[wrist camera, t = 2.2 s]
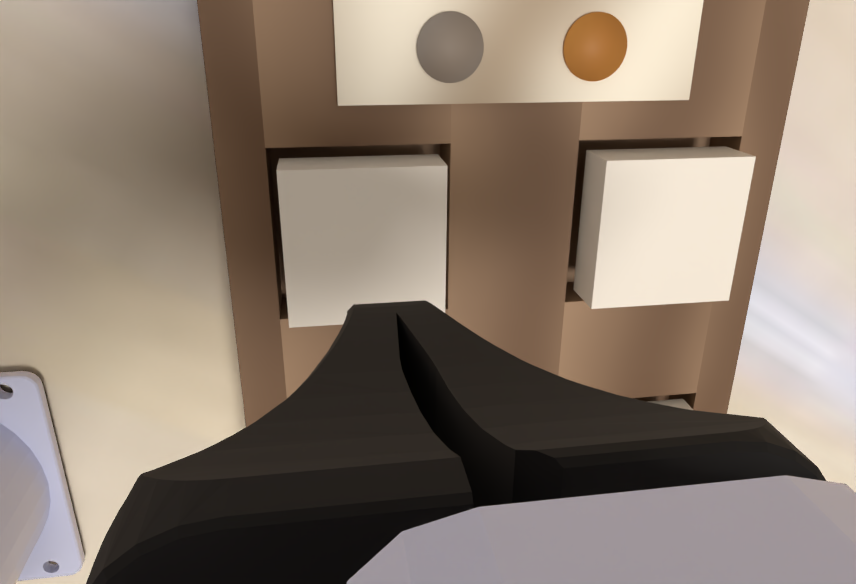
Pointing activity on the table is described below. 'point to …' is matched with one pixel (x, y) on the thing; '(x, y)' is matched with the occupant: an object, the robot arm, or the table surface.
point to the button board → (497, 160)
